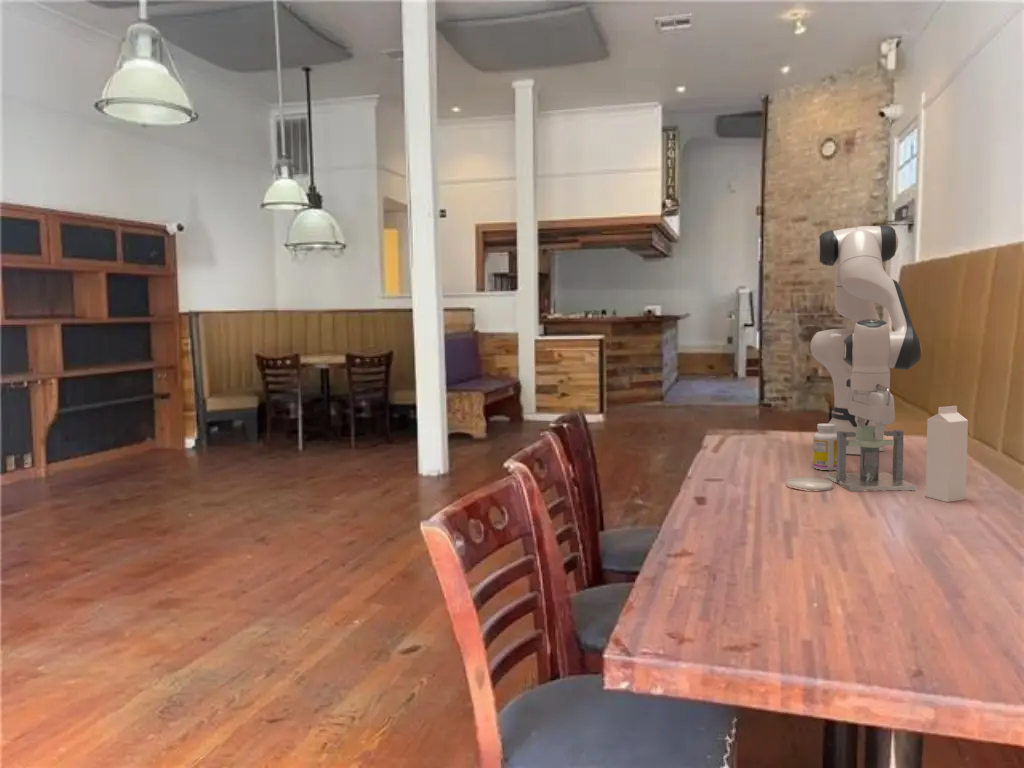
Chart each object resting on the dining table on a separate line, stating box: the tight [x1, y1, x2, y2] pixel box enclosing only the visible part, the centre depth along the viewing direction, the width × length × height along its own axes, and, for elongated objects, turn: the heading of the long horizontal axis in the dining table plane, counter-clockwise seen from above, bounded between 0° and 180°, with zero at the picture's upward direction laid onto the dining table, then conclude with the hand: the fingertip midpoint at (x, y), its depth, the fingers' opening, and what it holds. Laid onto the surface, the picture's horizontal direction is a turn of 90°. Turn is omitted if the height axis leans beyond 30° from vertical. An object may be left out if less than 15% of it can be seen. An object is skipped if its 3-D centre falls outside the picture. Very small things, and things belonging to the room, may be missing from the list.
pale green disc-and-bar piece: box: [846, 426, 894, 448], centre depth 193 cm, size 6×11×5 cm, turn 88°
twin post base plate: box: [825, 429, 917, 492], centre depth 193 cm, size 16×16×14 cm
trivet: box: [786, 476, 834, 492], centre depth 193 cm, size 11×11×1 cm
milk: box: [925, 405, 969, 503], centre depth 177 cm, size 6×6×22 cm
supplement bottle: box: [813, 423, 837, 472], centre depth 212 cm, size 7×7×13 cm
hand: (869, 436), depth 193 cm, fingers open, 8 cm apart
